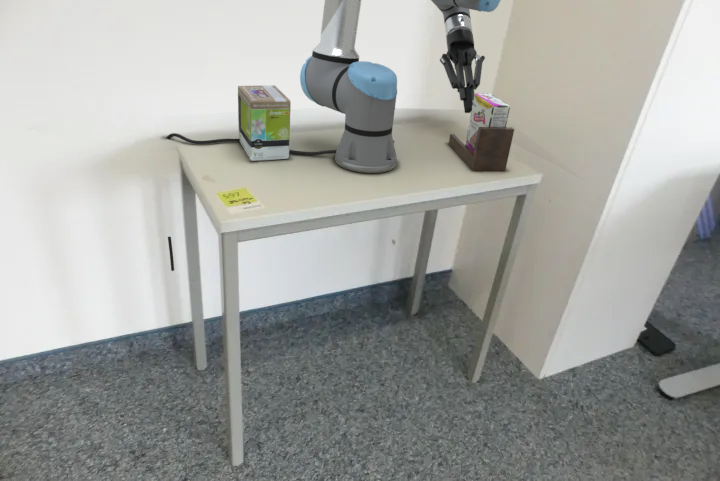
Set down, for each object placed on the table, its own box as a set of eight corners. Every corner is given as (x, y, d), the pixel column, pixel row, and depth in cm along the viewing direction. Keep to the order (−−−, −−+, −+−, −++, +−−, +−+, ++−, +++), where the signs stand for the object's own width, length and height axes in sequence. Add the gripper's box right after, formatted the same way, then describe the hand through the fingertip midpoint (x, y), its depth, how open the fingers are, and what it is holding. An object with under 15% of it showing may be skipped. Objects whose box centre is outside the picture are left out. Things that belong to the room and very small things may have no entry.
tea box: (290, 159, 138) (291, 100, 131) (250, 162, 134) (249, 101, 127) (275, 138, 150) (275, 83, 143) (237, 141, 146) (236, 84, 139)
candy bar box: (462, 152, 152) (473, 92, 144) (479, 152, 153) (490, 92, 145) (480, 168, 143) (493, 105, 134) (498, 168, 144) (511, 105, 136)
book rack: (472, 170, 141) (480, 128, 135) (448, 144, 157) (454, 105, 152) (505, 171, 143) (514, 129, 137) (477, 144, 159) (485, 106, 154)
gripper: (441, 26, 155) (451, 103, 148) (485, 28, 157) (496, 104, 151) (433, 42, 162) (442, 116, 156) (475, 44, 164) (485, 117, 158)
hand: (469, 110), depth 153 cm, fingers closed
